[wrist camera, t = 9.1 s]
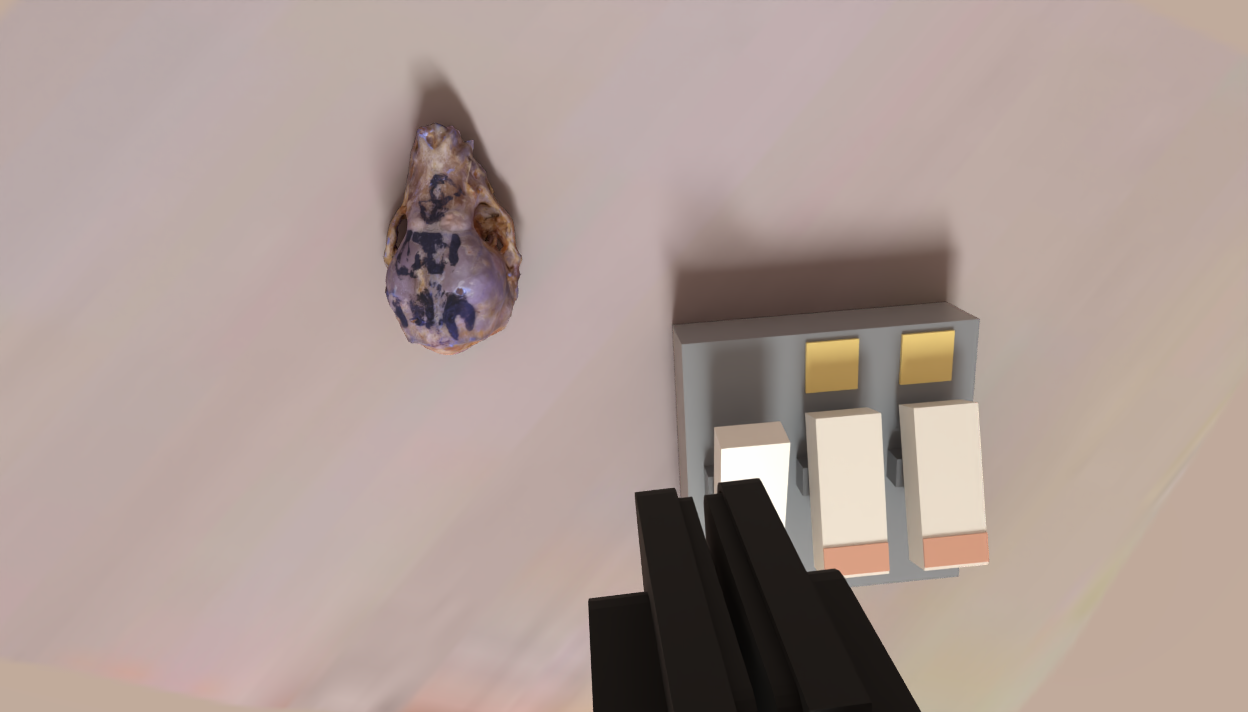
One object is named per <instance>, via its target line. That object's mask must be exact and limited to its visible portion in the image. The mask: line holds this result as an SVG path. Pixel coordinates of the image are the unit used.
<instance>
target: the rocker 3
mask: <svg viewBox="0 0 1248 712" xmlns="http://www.w3.org/2000/svg"><path fill="white" fill-rule="evenodd" d="M899 416H900V430H901V445H902V459H903V474H904V488H905V503H906V517H907V532H908V546H909V560H910V561H912V562H913V563H914V564H916V565H917V566H919V567H920V568H921V569H923V570H924V571H929V570H939V569H949V568H959V567H969V566H979V565H989V564H988V562H989V550H988V535H987V532H986V518H985V503H984V487H983V472H982V457H981V441H980V426H979V410H978V403H977V402H972V401H967V400H962V399H957V400H946V401H935V402H923V403H912V404H901V405H899Z"/></svg>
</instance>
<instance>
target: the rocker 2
mask: <svg viewBox="0 0 1248 712" xmlns="http://www.w3.org/2000/svg"><path fill="white" fill-rule="evenodd" d="M805 421H806V438H807V455H808V471H809V488H810V505H811V522H812V539H813V556H814V567H815V568H816V570H825V569H834V568H835V569H837V570H839V571H840V572H841V573H842V575H843V576H844V578H851V577H861V576H871V575H881V574H889V571H890V566H889V546H888V540H887V520H886V500H885V480H884V460H883V439H882V419H881V413H880V412H878V411H875V410H873V409H871V408H868V407H865V408H854V409H843V410H831V411H820V412H809V413H805Z"/></svg>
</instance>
